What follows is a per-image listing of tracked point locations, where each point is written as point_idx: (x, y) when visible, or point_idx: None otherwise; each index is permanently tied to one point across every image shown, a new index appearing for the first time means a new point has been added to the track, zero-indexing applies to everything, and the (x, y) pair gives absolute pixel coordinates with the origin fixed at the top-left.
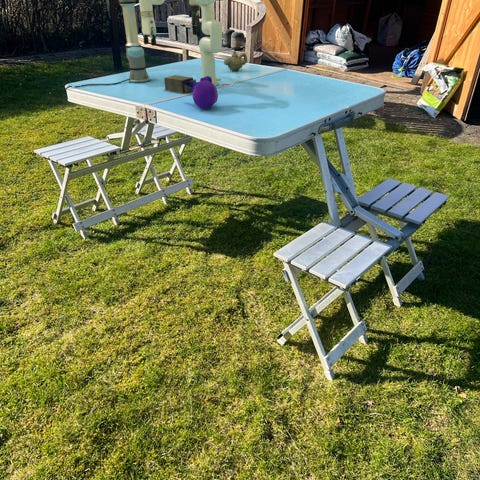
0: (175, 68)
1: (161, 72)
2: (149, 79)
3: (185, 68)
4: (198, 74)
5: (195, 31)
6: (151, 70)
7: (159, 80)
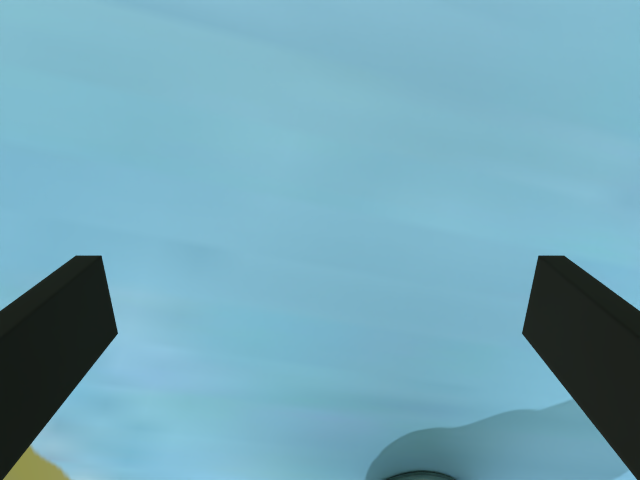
0: (29, 278)
1: (180, 386)
2: (430, 476)
3: (43, 205)
4: (365, 161)
5: (56, 315)
6: (84, 428)
7: (454, 428)
